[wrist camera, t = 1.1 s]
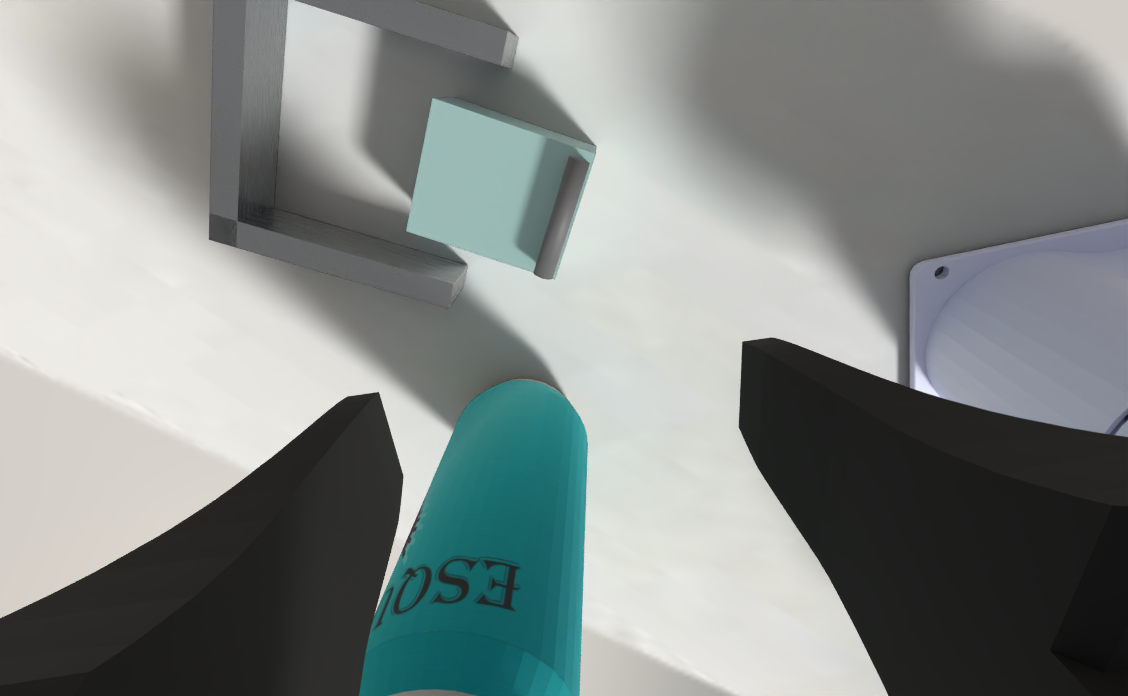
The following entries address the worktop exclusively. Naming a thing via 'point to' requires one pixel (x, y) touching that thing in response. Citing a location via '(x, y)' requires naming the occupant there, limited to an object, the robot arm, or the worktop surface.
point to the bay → (251, 132)
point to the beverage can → (492, 559)
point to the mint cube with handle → (498, 186)
